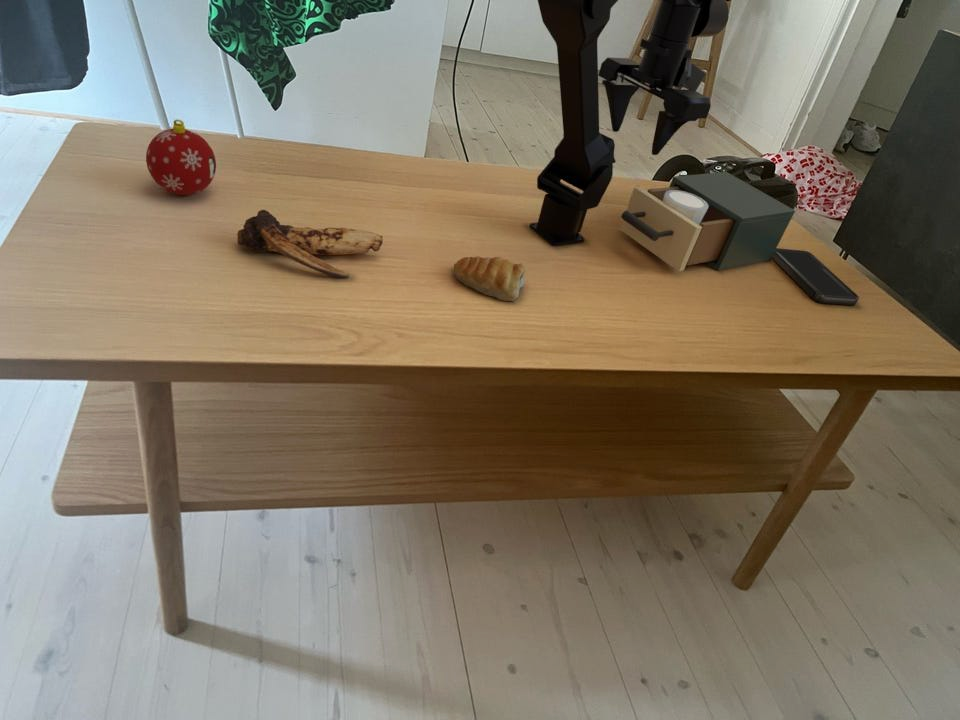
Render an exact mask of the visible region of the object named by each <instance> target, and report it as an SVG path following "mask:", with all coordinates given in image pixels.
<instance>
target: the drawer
mask: <svg viewBox="0 0 960 720" xmlns="http://www.w3.org/2000/svg"><path fill="white" fill-rule="evenodd" d="M669 190H679V191H684V192H688V193H690V192H689V191H687V190H686V189H684V188H682V187H681V186H676V187H670V186H667V187H656V188H648V189H647V190H645V189H644V188H642V187H641V186H635V187H633V190H632V193H631V195H630V198H629V201H628V204H627V207H626V210H624V211H623V212H622V214H621V216H620V217H621V218H620V219H622V222H621V225H620V228H619V230H620V231H621V232H623V233H624V234H625V235H627V236H628V237H630V238H631V239H632V240H634V241H635V242H637V243H638V244H639V245H641V246H642V247H644V248H645V249H646V250H648V251H649V252H651V253H652V254H653V255H655V256H656V257H657V258H659V259H660V260H661V261H663V262H664V263H666V264H667V265H668V266H670V267H671V268H672V269H674V270H675V271H676V272H683V271H685V269H686V266H691V265H697V264H703V263H706V262H707V261H713V260H718V259H719V257H720V255H721V253H722V251H723V248H724V246H725V244H726V242H727V240H728V238H729V235H730V233H731V231H732V229H733V227H734V224H735V222H736V220H734V219H733V218H731V217H730V216H728V215H726V214H725V213H723V212H721V211H720V210H718V209H717V208H715V207H713V206H712V205H710V204H708V203H707V204H708V205H709V207H708V209H707V211H706V213H705V215H704V217H703V219H702V220H701V222H700V224H699V225H698V224H696V223H695V222H693V221H692V220H690V219H689V218H687V217H686V216H684V215H682V214H681V213H679V212H678V211H676V210H675V209H673V208H672V207H670V206H669V205H667V204H665V203H664V202H663V198H664V195H665V193H666V191H669ZM691 194H692V193H691Z"/></svg>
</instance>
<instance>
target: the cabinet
mask: <svg viewBox="0 0 960 720" xmlns="http://www.w3.org/2000/svg"><path fill="white" fill-rule="evenodd" d="M676 186H681V187H682V188H684V189H686V190H687V191H689V192H690V193H692V194H694V195H696V196H698V197H700V198H702V199H703V200H704V201H706V202H707V203H708V204H710V205H712V206H713V207H715V208H717V209H718V210H720V211H721V212H723V213H725V214H726V215H728V216H730V217H731V218H733V219H734V220H736V222H735V224H734V227H733V229H732V231H731V233H730V235H729V238H728V240H727V242H726V244H725V246H724V248H723V251H722V253H721V255H720V257H719V259H718V260H713V261H707V262H705V263H706V264H707V265H708V266H710V267H711V268H713V269H715V270H716V271H717V272H719V271H724V270H730V269H735V268H739V267H744V266H749V265H753V264H758V263H764V262H767V261H771V259H773V258H772V256H773V254H774V252H775V250H776V248H778V246H779V244H780V242H781V240H782V238H783V236H784V234H785V232H786V230H787V228H788V226H789V224H790V222H791V220H792V218H793V217H794V214H795V213H796V209H794V208H792V207H790V206H788V205H786V204H785V203H783V202H781V201H779V200H778V199H776V198H774V197H772V196H770V195H768V194H766V193H765V192H764V191H761V190H760V189H758V188H756V187H754V186H753V185H750V184H749V183H748V182H746V181H743V180H742V179H740V178H738V177H737V176H736V175H733V174H731V173H729V172H727V171H722V172H721V171H720V172H710V173H709V172H708V173H700V174H699V173H698V174H697V173H696V174H688V175H687V174H686V175H676V176H672V178H671V182H670V184H669V187H676Z"/></svg>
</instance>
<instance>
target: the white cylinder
mask: <svg viewBox="0 0 960 720" xmlns="http://www.w3.org/2000/svg"><path fill="white" fill-rule="evenodd" d="M663 202H664V203H665V204H667V205H669V206H670V207H672V208H673V209H675V210H676V211H678V212H679V213H681V214H682V215H684V216H686V217H687V218H689V219H690V220H692V221H693V222H695V223H696V224H698V225H699V224H700V222H701V220H702V219H703V217H704V215H705V213H706V211H707V209H708V207H709V205H708V204H707V202H706V201H704V200H703V199H702V198H700V197H698V196H696V195H694V194H691V193H688V192H684V191H679V190H669V191H666V193H665V195H664V198H663Z"/></svg>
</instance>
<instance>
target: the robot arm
mask: <svg viewBox="0 0 960 720" xmlns="http://www.w3.org/2000/svg"><path fill="white" fill-rule="evenodd" d="M618 1H619V0H537V3H538V7H539V11H540V15H541V21H542V23H543V25H544V26H545V28H546V30H547V31H548V33H549V34H550V36H551V38H552V39H553V41H554V42H555V45H556V54H557V67H558V78H559V93H560V104H561V118H562V130H563V131H562V132H563V137H562V139H561V140H560V141H559V143H558V144H557V146H556V147H555V148H554V152H553V153H554V155H553V157H552V158H551V160H550V161H549V162H548V164H547V165H546V166H545V167H544V168H543V170H541V172H540V173H539V174H538V175H537V177H536V188H537V189H538V190H540V191H542V192H544V193H545V194H544V197H543V201H542V205H541V208H540V211H539V215H538V219H537V221H536V222H530V223H529V229H532V230H533V231H534V232H535V233H536V234H537V235H539V236H540V237H541V238H543V240H545V241H546V242H547V243H548V244H550V245H551V246H554V247H556V246H557V247H558V246H564V245H570V244H577V243H584V242H585V239H586V238H585V237H584V236H583V235H582V234H581V232H582V228H583V225H584V223H585V220H586V215H587V212H588V211H589V210H592V209H595V208H597V207H598V206H599V205H600V203H601V201H602V199H603V197H604V195H605V193H606V192H607V189H608V187H609V185H610V183H611V181H612V179H613V175H614V172H613V170H614V164H616V162H617V161H616V159H615V147H616V144H615V140H614V138H611V137H609V136H607V135H605V134H603V133H601V132H600V104H599V98H600V97H599V77H600V78H601V79H602V80H601V84H602V86H603V85H604V88H605V94H606V98H607V103H608V110H609V115H610V123H611V130H612V132H614V133H618V132H619V131H620V130H621V127H622V124H623V123H624V119H625V117H626V113H627V110H628V108H629V104H630V102H631V99H632V97H633V96H634V95H635V93H636V92H637V91H638V90H639V89H642V90H644V91H645V92H648V93H649V94H651V95H653V96H655V97H657V98H659V99H660V100H663V103H662V105H663V109H664V110H659V111H658V115H657V119H656V125H655V129H654V130H655V131H654V135H653V140H652V145H651V155H652V156H658V155H659V154H660V153H661V151H662V150H663V149H664V147H665V146H666V145H667V144H668V142H669V141H670V140H672V137H673V136H674V135H675V134H676V133H677V131H679V130H680V129H681V127H683V126H684V125H686V124H687V123H689V122H697V120H699V119H707V118H708V116H709V113H710V110H711V108H712V102H711V98H710V97H709V96H707V95H705V94H702V93H701V92H699V91H697V90H698V89H699V87H700V85H701V83H703V80H704V78H705V77H706V76H707V73H706V72H705V71H703V70H702V69H700V68H699V67H698V66H696V65H695V64H694V63H693V62H691V58H692V56H693V54H692V52H693V50H692V49H690V48H688V47H689V43H690V41H691V38H709V37H714V36H717V35H718V34H719V33H721V32H722V31H723V30H724V28H725V27H726V25H727V23H728V22H729V18H730V17H729V14H730V13H729V12H730V11H729V5H728V3H727V1H726V0H659V3H658V7H657V9H656V13H655V16H654V19H653V22H652V24H651V25H652V26H651V29H650V32H649V34H648V37H647V38H641V41H640V43H639V47H641V48H642V49H644V51H643V54H642V57H641V60H640V63H638V62H636V61H634V60H633V59H632V60H631V59H630V58H627V57H610V56H609V57H607V58H605V59H604V61H602V62H601V65H600V67H599V61H598V60H599V57H598V53H599V52H598V40H599V37H600V36H601V33H602V32H603V30H604V29H605V27H606V26H607V25H608V23H609V22H610V18H611V10H612V8H613V7H614V6H615V5H616V3H618ZM674 87H676V88H681V89H674ZM683 88H685V89H683ZM561 181H563V182H565V183H563V182H561ZM566 183H567V184H568V185H567V184H566ZM569 185H571V186H573V187H574V188H577V189H578V190H576V189H574V188H573V187H570V186H569ZM580 191H582V192H580Z"/></svg>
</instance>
